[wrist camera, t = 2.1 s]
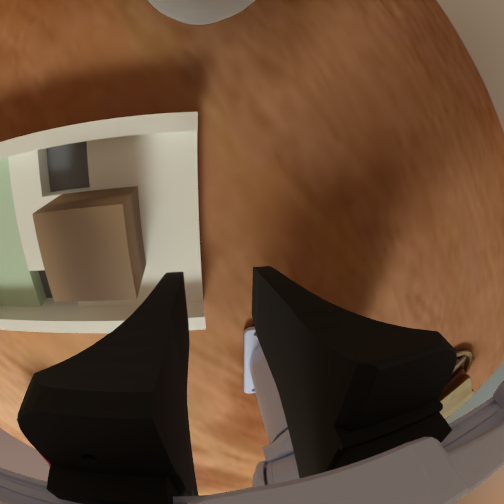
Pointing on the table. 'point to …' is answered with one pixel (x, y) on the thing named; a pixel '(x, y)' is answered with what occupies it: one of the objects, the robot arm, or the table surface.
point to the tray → (97, 178)
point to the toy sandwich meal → (457, 385)
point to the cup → (200, 9)
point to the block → (92, 245)
